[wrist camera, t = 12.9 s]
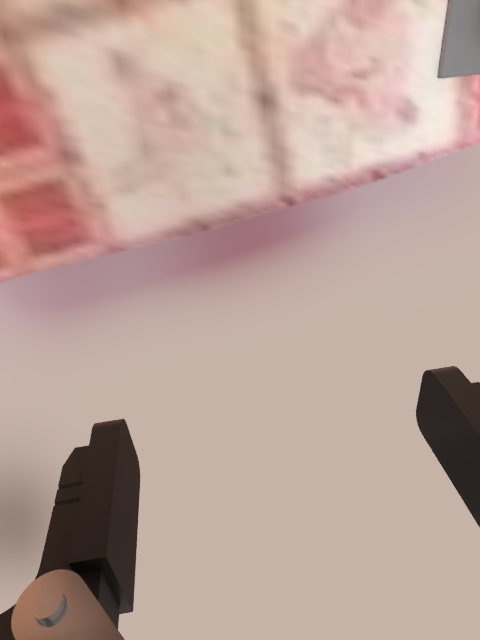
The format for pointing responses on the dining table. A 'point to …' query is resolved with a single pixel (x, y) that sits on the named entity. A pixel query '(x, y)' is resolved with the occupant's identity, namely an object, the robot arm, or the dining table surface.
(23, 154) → the dining table surface
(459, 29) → the plate
